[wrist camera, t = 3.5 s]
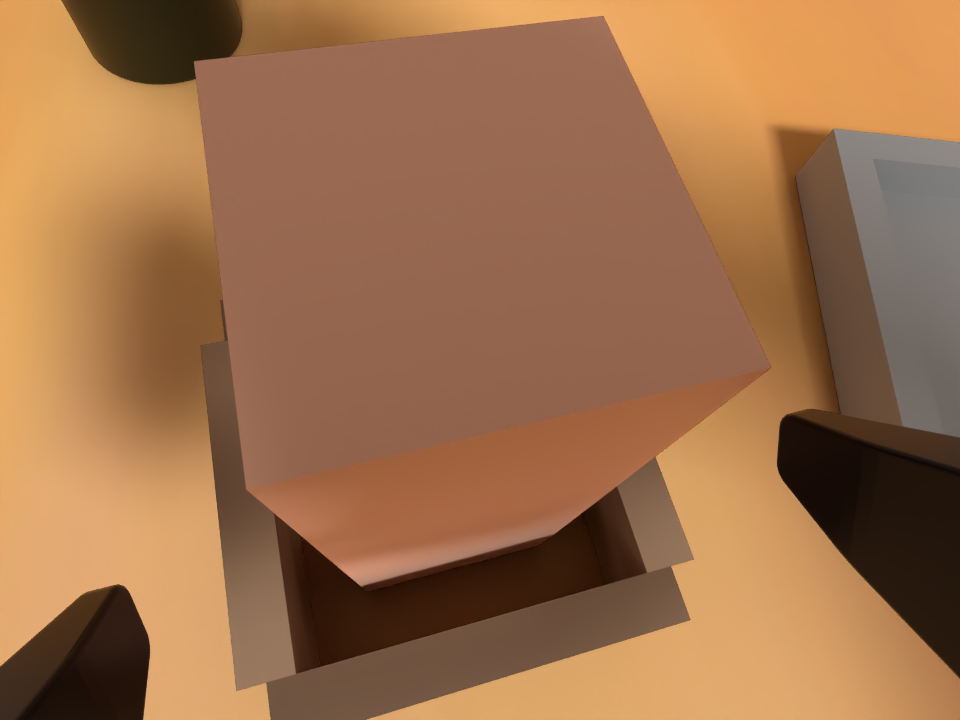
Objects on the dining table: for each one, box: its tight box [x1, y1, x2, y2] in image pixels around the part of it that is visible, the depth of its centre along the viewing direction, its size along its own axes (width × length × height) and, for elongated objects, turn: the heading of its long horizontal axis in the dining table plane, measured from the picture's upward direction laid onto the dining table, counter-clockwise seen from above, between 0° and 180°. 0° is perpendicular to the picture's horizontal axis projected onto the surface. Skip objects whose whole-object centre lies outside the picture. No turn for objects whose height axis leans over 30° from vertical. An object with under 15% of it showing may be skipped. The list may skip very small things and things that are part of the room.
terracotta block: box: [194, 16, 771, 592], centre depth 13 cm, size 5×5×13 cm
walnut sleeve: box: [201, 300, 694, 720], centre depth 17 cm, size 10×10×4 cm
